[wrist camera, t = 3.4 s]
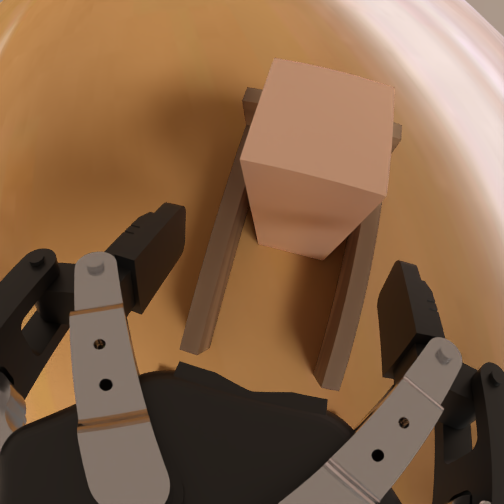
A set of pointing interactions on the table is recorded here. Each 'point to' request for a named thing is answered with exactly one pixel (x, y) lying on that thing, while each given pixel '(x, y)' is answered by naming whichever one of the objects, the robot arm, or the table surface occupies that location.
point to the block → (316, 156)
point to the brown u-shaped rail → (222, 258)
